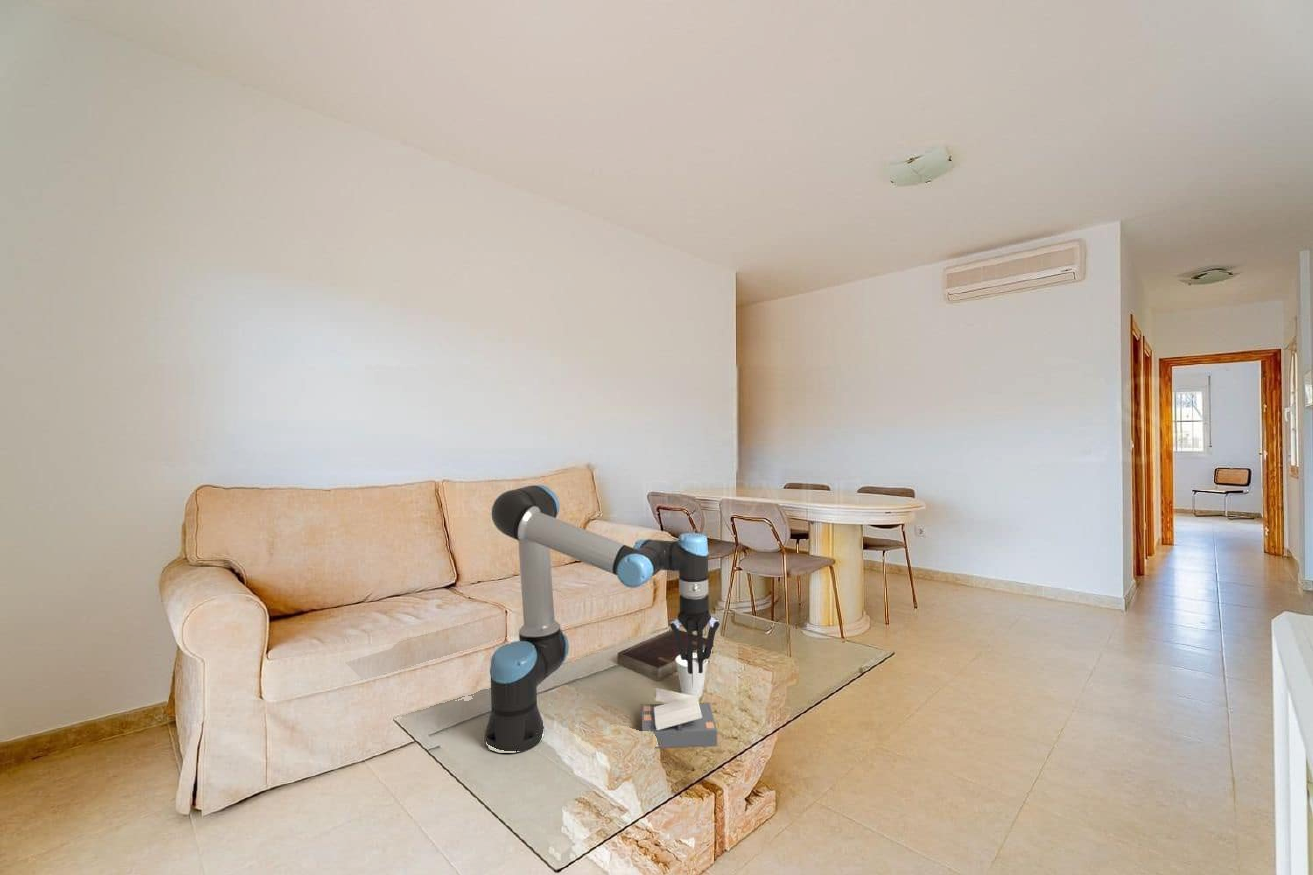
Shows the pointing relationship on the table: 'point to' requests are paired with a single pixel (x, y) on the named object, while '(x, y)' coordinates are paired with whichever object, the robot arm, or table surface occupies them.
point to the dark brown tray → (656, 655)
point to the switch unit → (682, 729)
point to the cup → (690, 677)
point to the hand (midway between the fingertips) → (695, 684)
